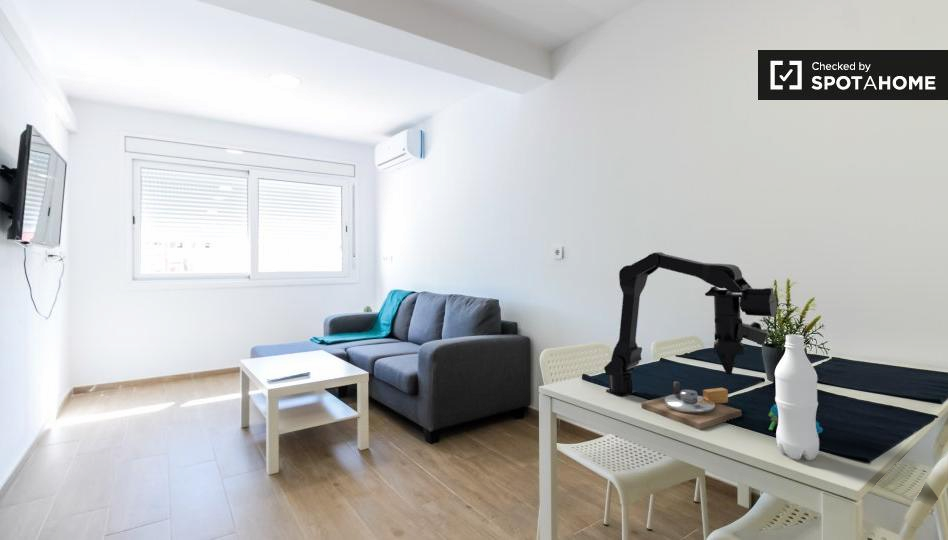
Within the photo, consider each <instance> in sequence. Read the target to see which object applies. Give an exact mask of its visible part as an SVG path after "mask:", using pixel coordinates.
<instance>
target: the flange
mask: <svg viewBox="0 0 948 540" xmlns="http://www.w3.org/2000/svg"><path fill="white" fill-rule="evenodd" d="M680 392H681V394H674V393H673V394H674V395H673V394H669V395H670V396H669V395H666V396H667V397H666V398H665V405H666V406H667V407H668V408H670V409H672V410H675V411H679V412H683V413H691V414H703V413H709V412H712V411H714V409H715V404H718V403H719V404H723V403H729V397H728V396H729V394H728V393H729V390H728V389H726V388H724V387H717V388H708V389H702V396H701V395H698V392H697V391H696V390H693V389H680Z"/></svg>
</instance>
